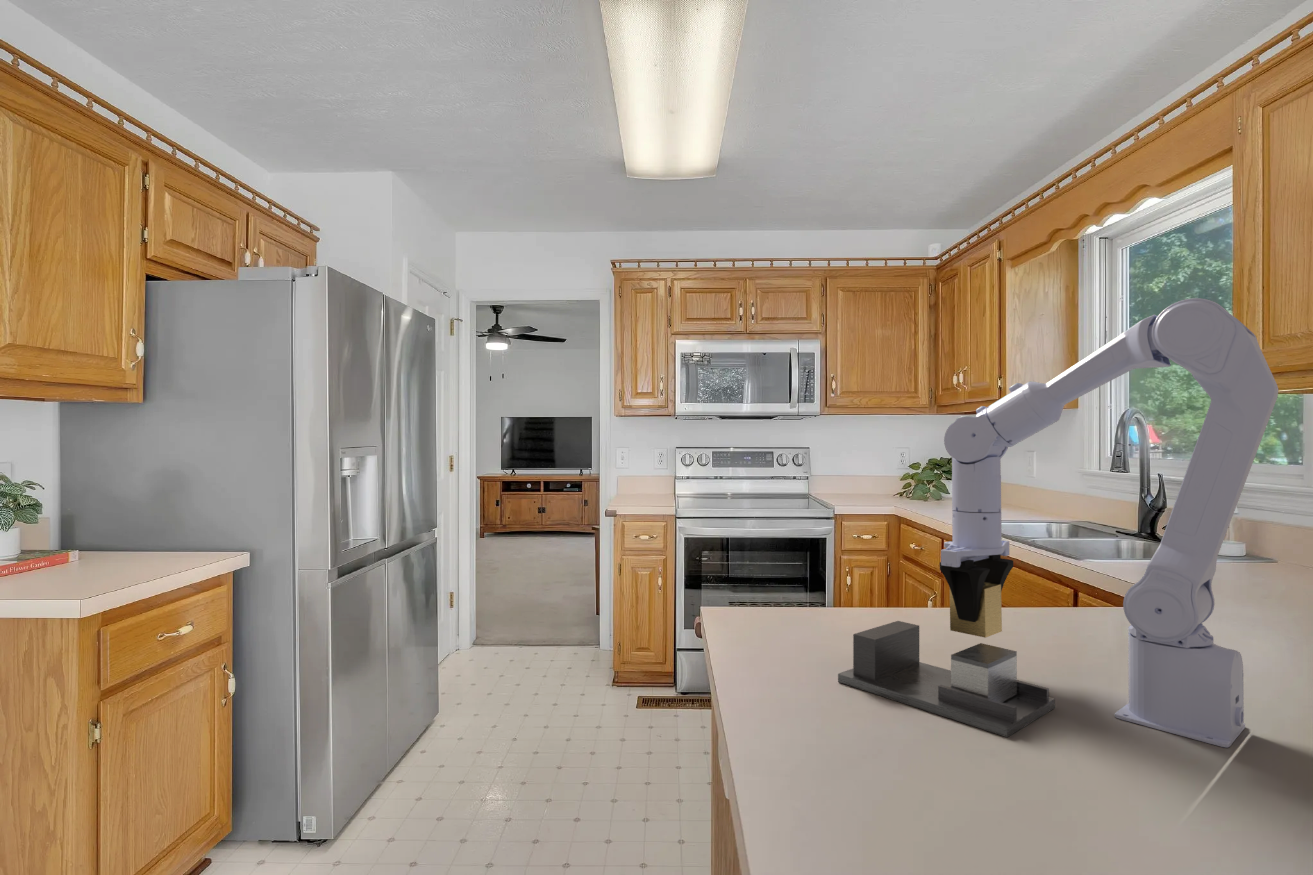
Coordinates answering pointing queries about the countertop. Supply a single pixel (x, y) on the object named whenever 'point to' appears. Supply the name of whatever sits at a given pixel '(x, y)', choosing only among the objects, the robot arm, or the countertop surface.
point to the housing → (981, 614)
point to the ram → (985, 671)
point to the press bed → (934, 683)
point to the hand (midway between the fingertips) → (977, 616)
